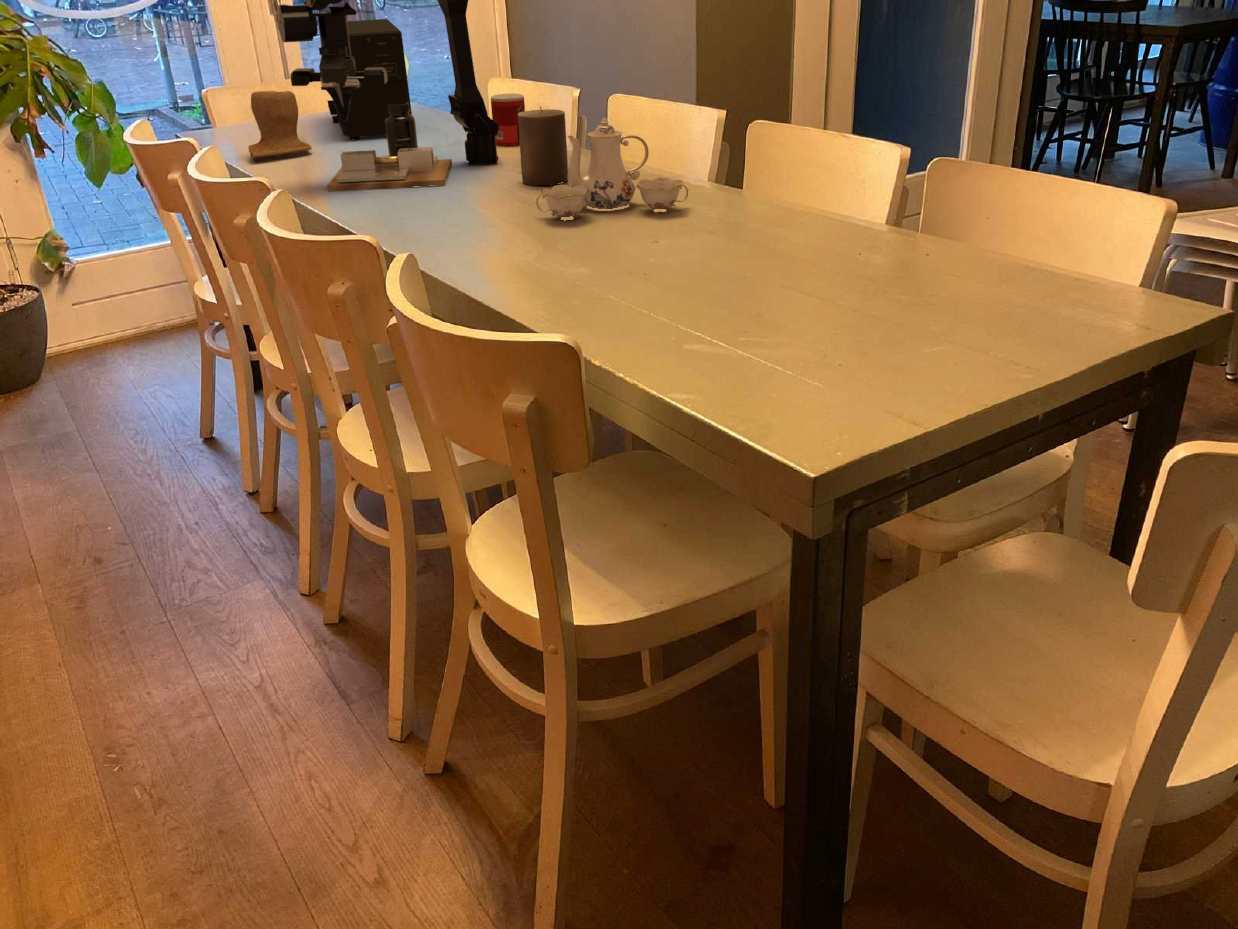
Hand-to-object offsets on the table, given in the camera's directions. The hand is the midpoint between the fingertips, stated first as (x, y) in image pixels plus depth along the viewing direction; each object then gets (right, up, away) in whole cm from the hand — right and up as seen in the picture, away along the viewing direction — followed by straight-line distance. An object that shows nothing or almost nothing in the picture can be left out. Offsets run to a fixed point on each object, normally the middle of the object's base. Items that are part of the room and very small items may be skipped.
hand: (345, 120), depth 213 cm
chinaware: (+56, -25, -22) cm, 65 cm away
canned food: (+31, +6, +35) cm, 47 cm away
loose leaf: (+6, -10, +3) cm, 12 cm away
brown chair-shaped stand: (-24, +2, +31) cm, 40 cm away
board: (+8, -10, +7) cm, 15 cm away
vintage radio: (-10, +18, +61) cm, 64 cm away
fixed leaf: (+10, -7, +10) cm, 16 cm away
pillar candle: (+42, -13, 0) cm, 44 cm away
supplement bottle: (+7, 0, +26) cm, 27 cm away
